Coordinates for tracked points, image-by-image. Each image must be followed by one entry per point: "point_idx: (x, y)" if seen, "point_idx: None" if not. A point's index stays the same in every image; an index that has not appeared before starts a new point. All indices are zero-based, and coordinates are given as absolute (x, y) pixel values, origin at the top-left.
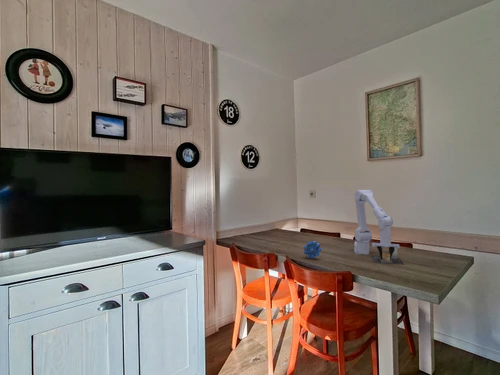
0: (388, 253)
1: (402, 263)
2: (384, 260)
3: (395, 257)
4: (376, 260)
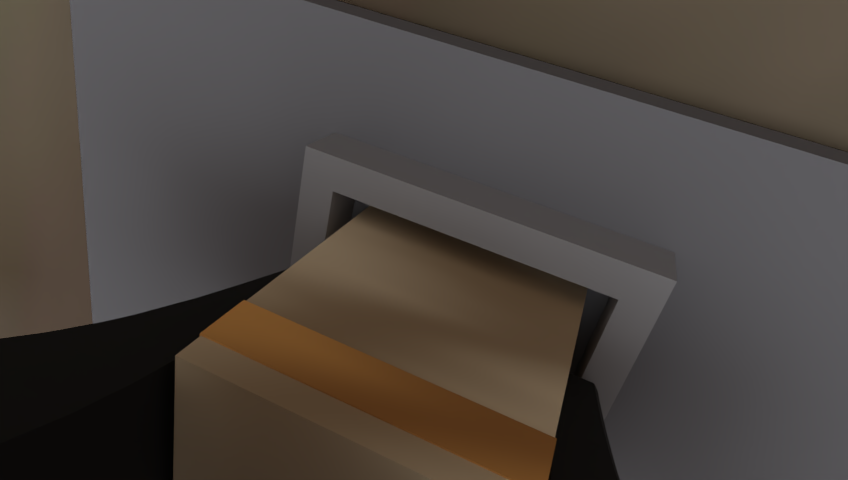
0: (220, 436)
1: (94, 71)
2: (529, 265)
3: None
4: (717, 446)
